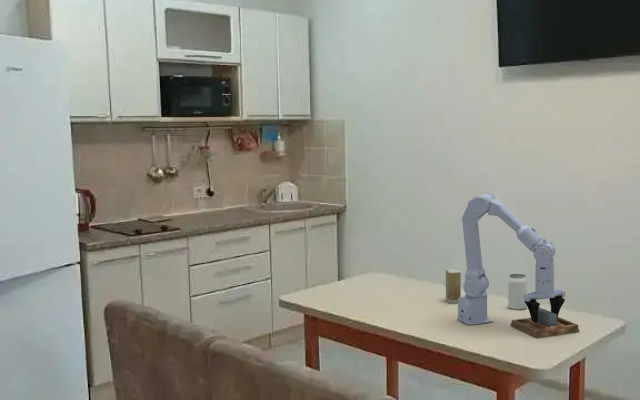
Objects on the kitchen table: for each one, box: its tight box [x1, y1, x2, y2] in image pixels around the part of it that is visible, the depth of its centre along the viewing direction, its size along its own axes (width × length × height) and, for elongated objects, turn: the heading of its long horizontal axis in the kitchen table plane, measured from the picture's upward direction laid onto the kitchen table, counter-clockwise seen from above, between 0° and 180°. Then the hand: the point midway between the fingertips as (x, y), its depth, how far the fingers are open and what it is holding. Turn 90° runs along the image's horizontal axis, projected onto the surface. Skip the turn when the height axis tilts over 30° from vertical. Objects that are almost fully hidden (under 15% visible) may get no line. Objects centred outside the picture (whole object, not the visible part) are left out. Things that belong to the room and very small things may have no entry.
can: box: [507, 273, 528, 311], centre depth 240 cm, size 6×6×12 cm
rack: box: [510, 316, 580, 339], centre depth 215 cm, size 16×14×3 cm
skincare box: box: [445, 268, 462, 305], centre depth 251 cm, size 6×4×12 cm
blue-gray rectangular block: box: [537, 306, 557, 328], centre depth 214 cm, size 2×9×5 cm, turn 18°
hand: (544, 320), depth 214 cm, fingers open, 7 cm apart
